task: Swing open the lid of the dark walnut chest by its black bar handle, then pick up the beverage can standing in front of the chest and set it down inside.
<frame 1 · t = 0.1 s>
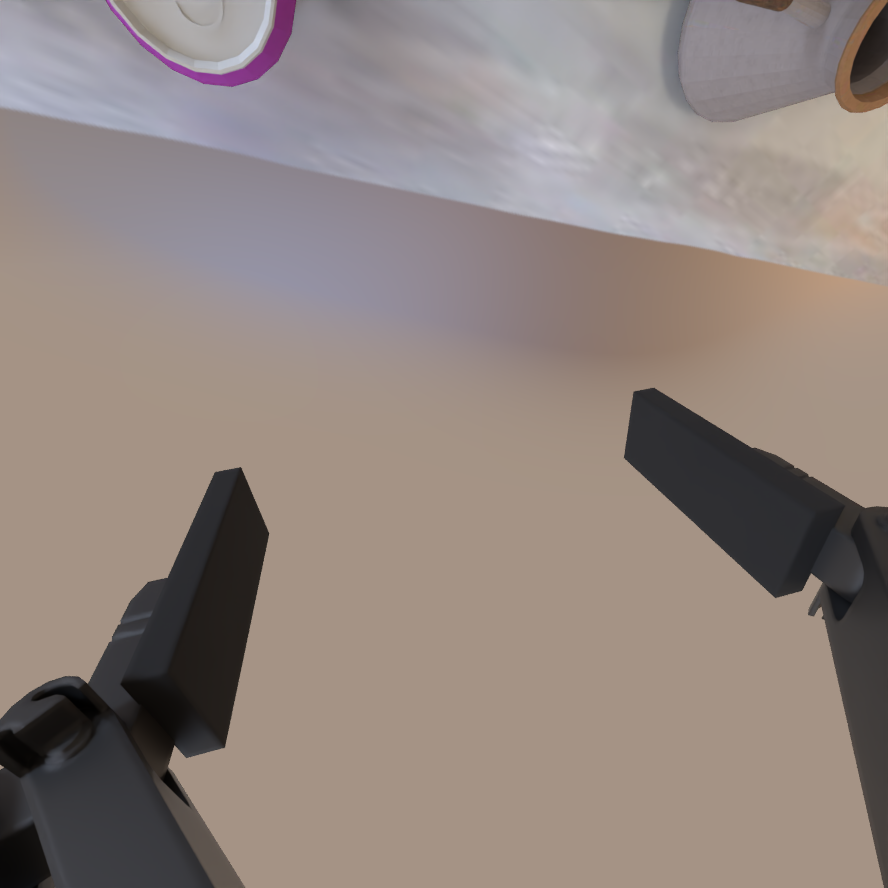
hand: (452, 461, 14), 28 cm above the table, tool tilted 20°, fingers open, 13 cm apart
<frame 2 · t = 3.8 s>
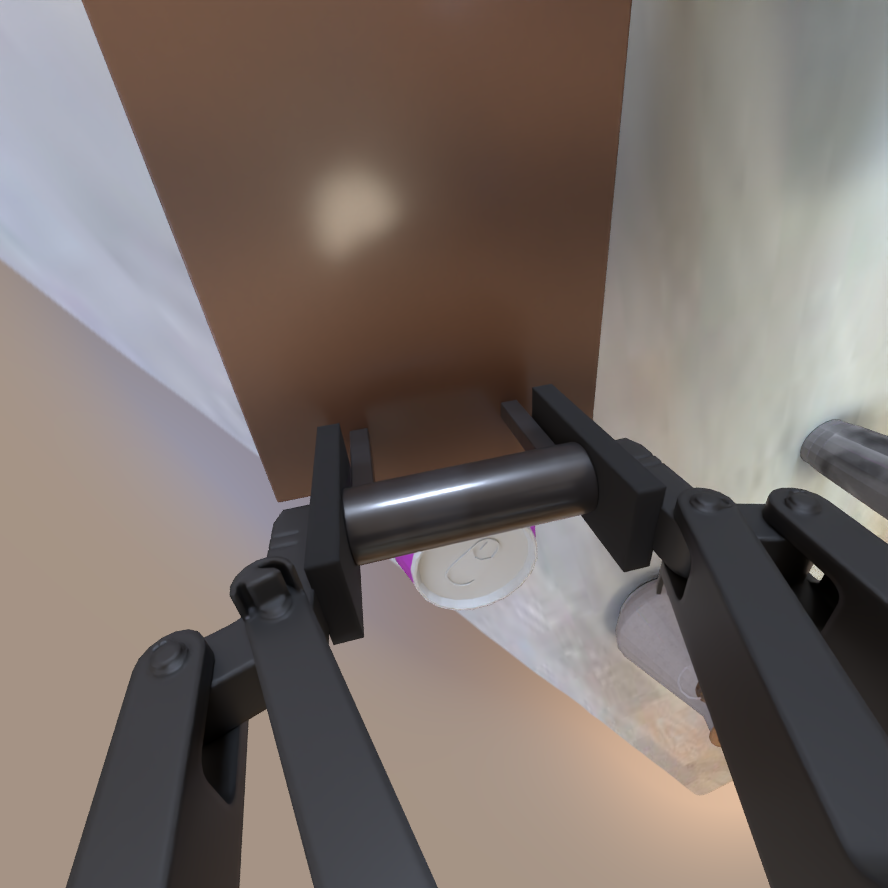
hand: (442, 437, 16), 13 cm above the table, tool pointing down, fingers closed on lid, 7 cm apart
beverage cup: (821, 440, 39), on the table
coffee pot: (632, 581, 44), on the table
lid: (422, 191, 10), point 14 cm above the table, hinge at 0.0°, touching gripper
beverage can: (430, 441, 31), on the table
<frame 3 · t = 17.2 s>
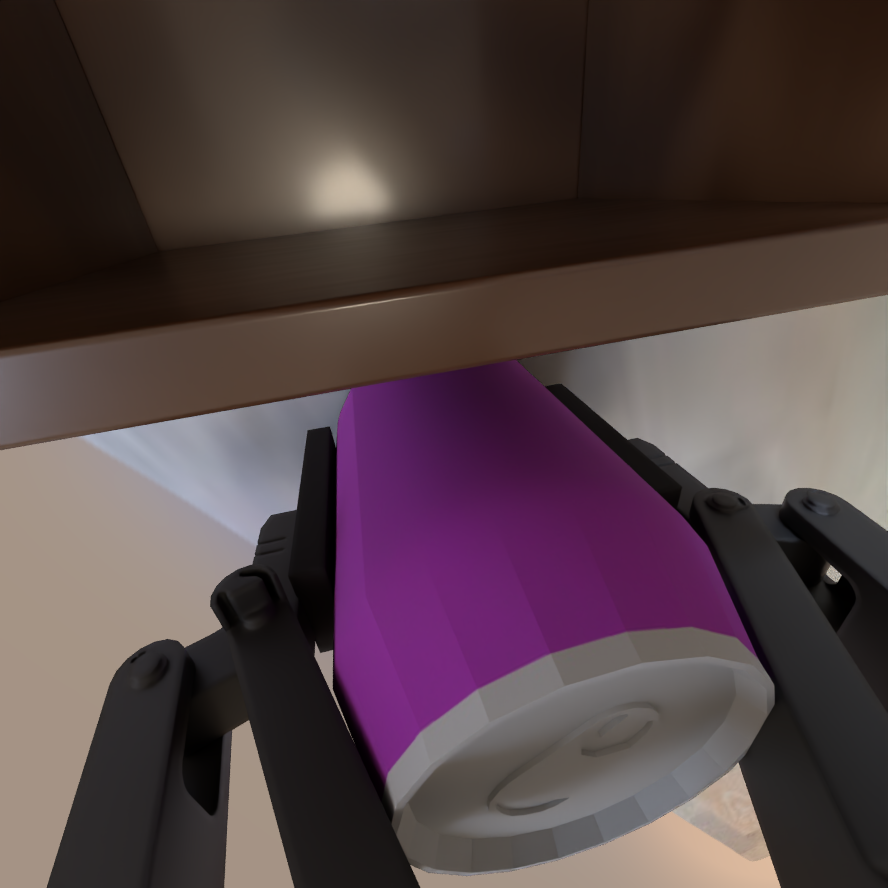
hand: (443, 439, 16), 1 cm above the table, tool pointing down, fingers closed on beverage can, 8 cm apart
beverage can: (436, 422, 17), on the table, touching gripper
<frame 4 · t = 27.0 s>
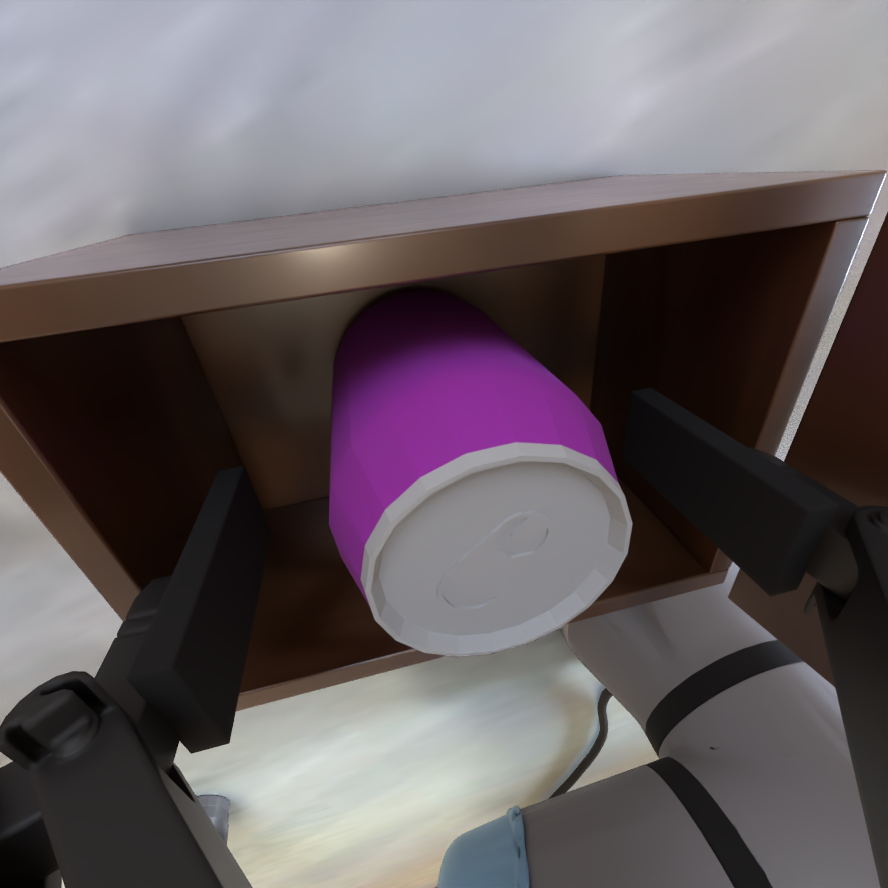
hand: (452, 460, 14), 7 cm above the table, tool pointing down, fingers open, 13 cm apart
beverage cup: (202, 804, 37), on the table
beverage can: (417, 369, 20), point 1 cm above the table, touching chest
chest: (415, 365, 20), on the table
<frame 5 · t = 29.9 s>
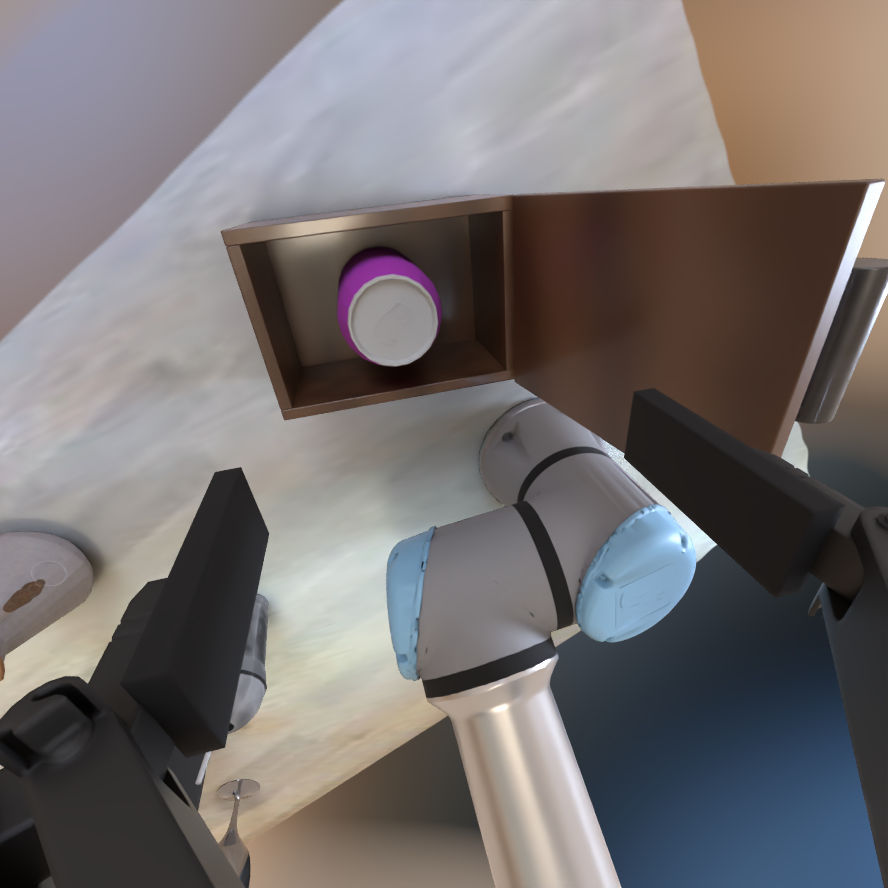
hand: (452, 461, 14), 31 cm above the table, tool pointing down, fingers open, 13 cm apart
beverage cup: (250, 603, 57), on the table
pen holder: (182, 738, 68), on the table
coffee pot: (69, 530, 46), on the table
lid: (653, 318, 25), point 20 cm above the table, hinge at 100.3°
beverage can: (380, 290, 40), point 1 cm above the table, touching chest
chest: (379, 289, 40), on the table
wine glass: (239, 788, 78), on the table
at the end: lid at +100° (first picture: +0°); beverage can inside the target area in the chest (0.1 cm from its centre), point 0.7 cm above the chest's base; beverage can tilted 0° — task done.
